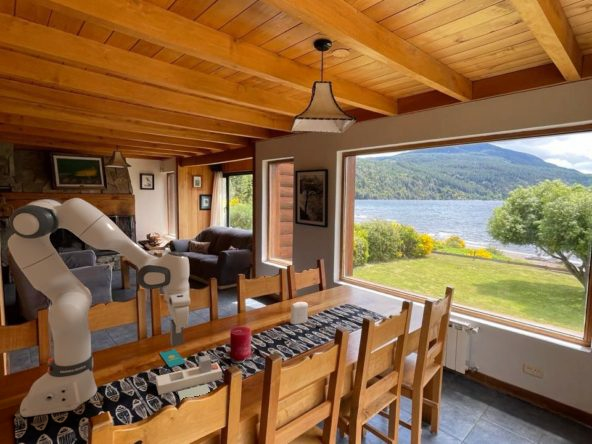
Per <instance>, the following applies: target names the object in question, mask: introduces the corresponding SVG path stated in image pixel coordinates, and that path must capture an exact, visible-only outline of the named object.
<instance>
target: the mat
mask: <svg viewBox="0 0 592 444" xmlns="http://www.w3.org/2000/svg"><path fill="white" fill-rule="evenodd" d="M210 391H211V390H210V387H209V385H208V384H207V383H204V384H200V385H196V386H192V387H188V388H184V389H181V390H177V395H178V397H179V401H180V402H181V400H182V399H183V398H185V397H194V396H199V395H201V394H206V393H208V392H210Z"/></svg>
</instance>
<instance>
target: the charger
mask: <svg viewBox="0 0 592 444" xmlns="http://www.w3.org/2000/svg"><path fill="white" fill-rule="evenodd" d="M169 323H170V330H169V331H170V333H169V334H170V341H169V342H170V345H171V347H177V346H182V345H184V327H181V332H180V333H176V331H175V327H176V325H175V323H174V321H173V319H172V318H171V319H170V322H169Z"/></svg>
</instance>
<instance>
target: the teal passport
mask: <svg viewBox="0 0 592 444" xmlns="http://www.w3.org/2000/svg"><path fill="white" fill-rule="evenodd" d="M160 355H161V356H160ZM159 356H160V358H161V359H162V358H163V359H162V360H163V361H164V362H165V364H166V365H167V367H168V368H170V369H171V368H172V369H173V368H175V367H178V366H182V365H185V364H186V362H187V361H185V359H184V358H183V357H182V356H181V354H180V353H179V352H178V351H177V350H176V348H172V349H168V350H163V351H160V352H159Z"/></svg>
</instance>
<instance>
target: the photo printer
mask: <svg viewBox="0 0 592 444" xmlns="http://www.w3.org/2000/svg"><path fill="white" fill-rule="evenodd" d="M290 307H291V308H290V320H289V321H290V324H291V325H297V324H299V325H300V324H306V323H307V322H308V314H309V313H308V312H309V305H308V303H307V302H305V301H296V302H294V303H292V304H291V306H290Z"/></svg>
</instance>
